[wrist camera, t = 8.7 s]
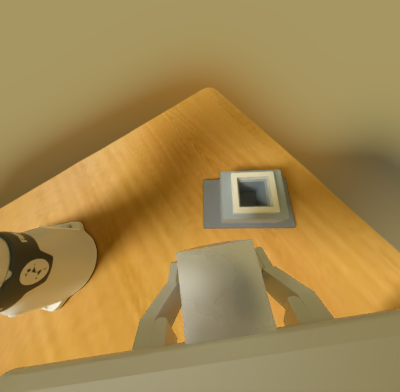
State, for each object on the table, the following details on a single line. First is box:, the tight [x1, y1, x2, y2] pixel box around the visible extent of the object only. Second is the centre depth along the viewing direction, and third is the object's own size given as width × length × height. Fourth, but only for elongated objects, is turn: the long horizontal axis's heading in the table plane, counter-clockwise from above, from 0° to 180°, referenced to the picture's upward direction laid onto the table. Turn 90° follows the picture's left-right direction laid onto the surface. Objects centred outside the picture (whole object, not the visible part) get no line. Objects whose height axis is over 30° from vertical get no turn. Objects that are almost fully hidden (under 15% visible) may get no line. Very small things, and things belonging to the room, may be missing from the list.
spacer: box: [231, 171, 280, 214], centre depth 27 cm, size 8×8×1 cm
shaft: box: [176, 239, 277, 345], centre depth 11 cm, size 4×4×11 cm
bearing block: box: [203, 169, 296, 228], centre depth 31 cm, size 20×12×7 cm, turn 90°
